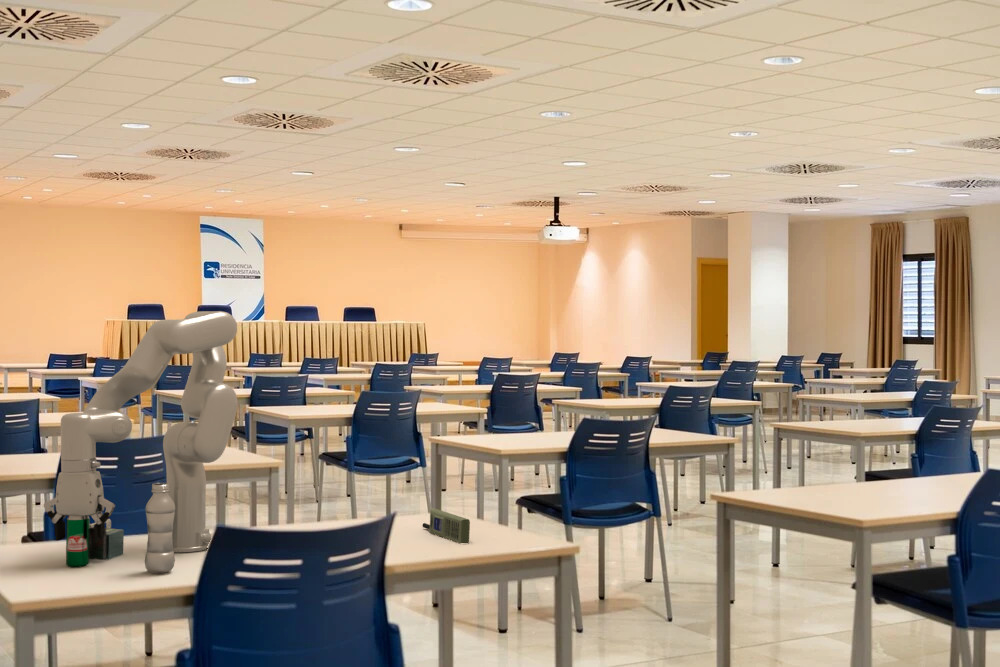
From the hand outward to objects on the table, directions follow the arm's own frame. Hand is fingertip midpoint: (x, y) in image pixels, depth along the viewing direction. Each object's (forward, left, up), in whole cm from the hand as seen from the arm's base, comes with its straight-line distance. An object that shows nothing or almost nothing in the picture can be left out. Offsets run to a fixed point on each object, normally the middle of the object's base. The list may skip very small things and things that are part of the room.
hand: (79, 539), depth 259 cm
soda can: (0, 0, -6) cm, 6 cm away
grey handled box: (0, -9, -5) cm, 10 cm away
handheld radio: (-74, -55, -6) cm, 93 cm away
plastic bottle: (-22, +4, -6) cm, 23 cm away
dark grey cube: (0, -11, -6) cm, 12 cm away
